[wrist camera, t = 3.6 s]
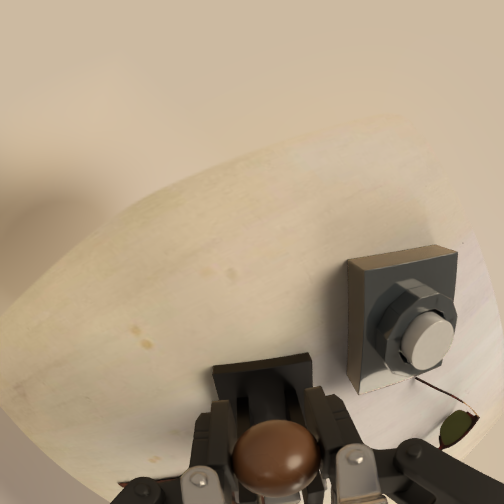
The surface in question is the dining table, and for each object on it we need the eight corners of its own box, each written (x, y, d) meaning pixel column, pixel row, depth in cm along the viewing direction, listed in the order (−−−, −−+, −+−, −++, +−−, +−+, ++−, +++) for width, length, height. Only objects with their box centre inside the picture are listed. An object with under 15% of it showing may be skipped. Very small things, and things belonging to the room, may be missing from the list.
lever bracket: (213, 365, 22) (200, 483, 10) (308, 351, 22) (355, 461, 10) (233, 438, 24) (234, 534, 12) (310, 427, 24) (338, 519, 13)
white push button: (403, 318, 17) (416, 329, 15) (444, 305, 17) (457, 314, 15) (397, 364, 18) (408, 377, 16) (436, 350, 18) (448, 360, 16)
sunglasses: (393, 466, 28) (403, 487, 23) (330, 444, 27) (338, 473, 22) (464, 399, 26) (482, 418, 21) (418, 360, 25) (441, 384, 20)
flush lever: (221, 411, 8) (226, 497, 6) (314, 398, 8) (336, 480, 6) (256, 476, 15) (260, 513, 13) (300, 470, 15) (306, 506, 13)
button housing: (346, 259, 20) (376, 278, 16) (435, 244, 21) (472, 256, 16) (346, 374, 23) (365, 408, 18) (424, 350, 23) (451, 375, 18)
